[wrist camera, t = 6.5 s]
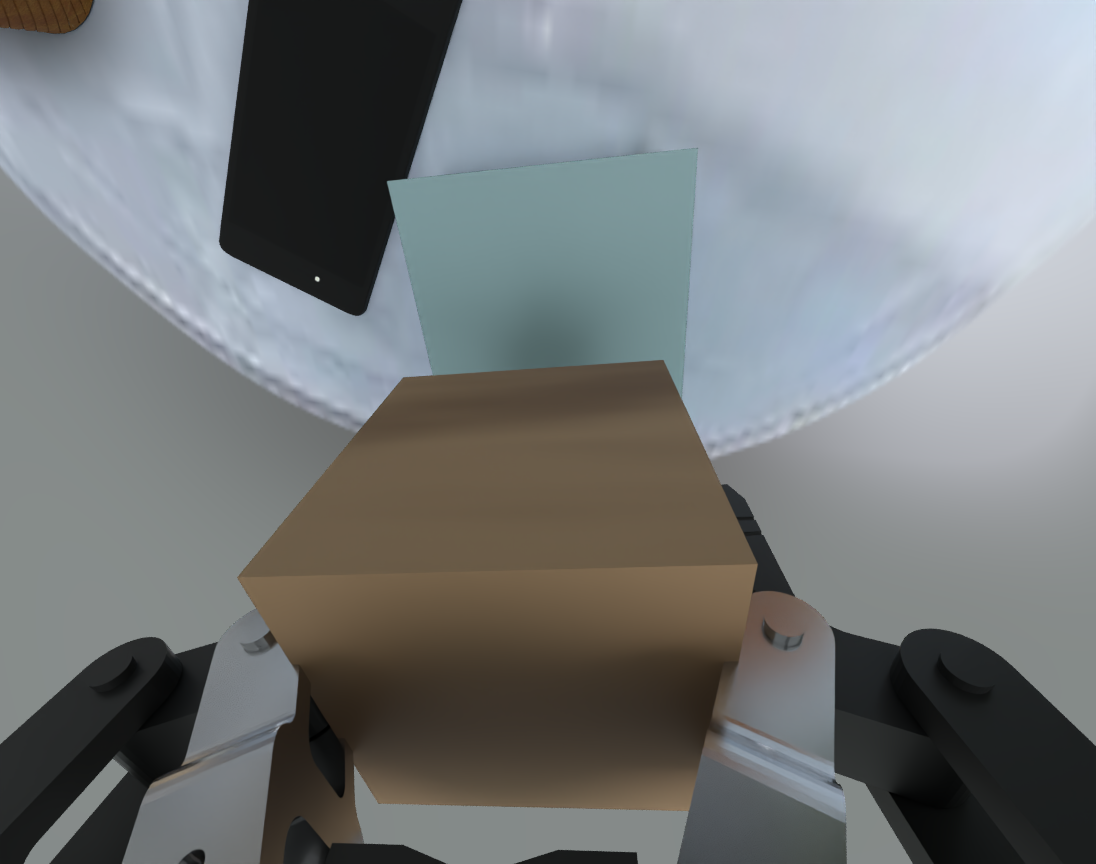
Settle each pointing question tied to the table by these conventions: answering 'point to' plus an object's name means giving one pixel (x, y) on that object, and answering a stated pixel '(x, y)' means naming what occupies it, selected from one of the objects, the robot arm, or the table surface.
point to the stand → (552, 262)
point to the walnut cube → (516, 590)
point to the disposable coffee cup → (44, 14)
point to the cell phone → (328, 136)
